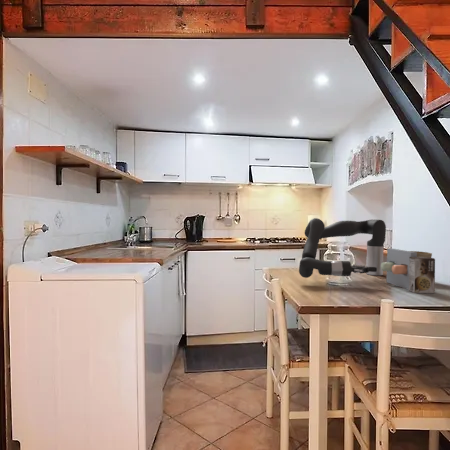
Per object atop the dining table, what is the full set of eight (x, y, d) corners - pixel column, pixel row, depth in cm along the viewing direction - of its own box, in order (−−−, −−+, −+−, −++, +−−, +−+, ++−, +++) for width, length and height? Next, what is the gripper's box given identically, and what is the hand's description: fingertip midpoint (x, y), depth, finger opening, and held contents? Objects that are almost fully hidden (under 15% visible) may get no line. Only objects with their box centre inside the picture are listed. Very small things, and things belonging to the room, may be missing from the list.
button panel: (386, 282, 187) (387, 248, 186) (391, 282, 187) (392, 248, 186) (409, 290, 167) (410, 252, 166) (415, 289, 167) (416, 252, 167)
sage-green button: (380, 270, 183) (380, 261, 183) (393, 270, 184) (393, 261, 184) (385, 271, 179) (385, 263, 179) (398, 271, 179) (398, 263, 179)
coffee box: (428, 290, 166) (429, 256, 165) (435, 293, 159) (436, 258, 159) (408, 290, 167) (409, 256, 166) (414, 293, 160) (415, 257, 160)
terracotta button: (391, 273, 173) (391, 264, 173) (405, 273, 174) (405, 264, 174) (396, 274, 169) (397, 265, 169) (410, 274, 170) (410, 265, 169)
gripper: (337, 273, 181) (372, 274, 179) (342, 278, 168) (380, 279, 166) (337, 259, 181) (372, 260, 179) (343, 262, 167) (380, 263, 165)
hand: (376, 269), depth 172 cm, fingers closed
